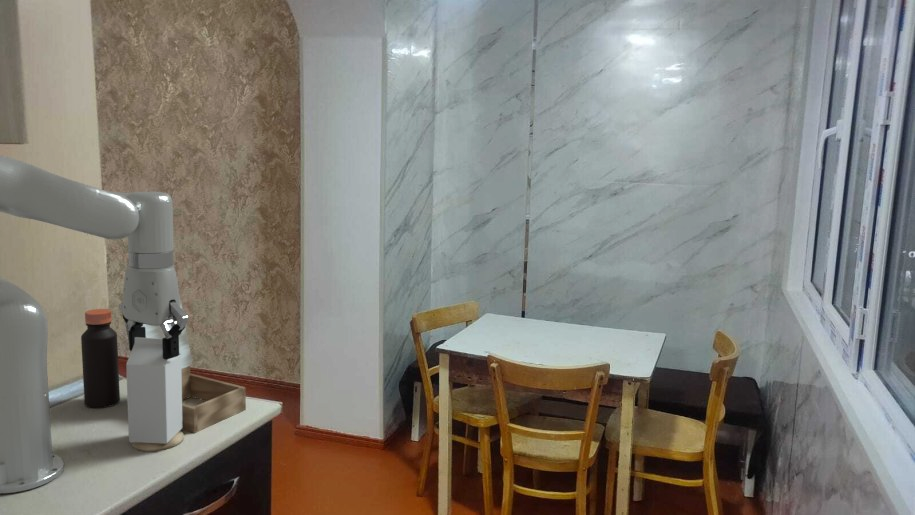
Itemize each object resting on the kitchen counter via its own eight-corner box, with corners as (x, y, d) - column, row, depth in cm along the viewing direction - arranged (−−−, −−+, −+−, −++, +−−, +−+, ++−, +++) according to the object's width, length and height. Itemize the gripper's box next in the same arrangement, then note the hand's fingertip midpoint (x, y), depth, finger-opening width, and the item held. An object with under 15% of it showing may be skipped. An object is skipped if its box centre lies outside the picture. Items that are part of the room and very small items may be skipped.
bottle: (110, 409, 146) (106, 316, 143) (78, 408, 146) (72, 315, 143) (125, 397, 153) (122, 308, 149) (94, 396, 153) (90, 307, 149)
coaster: (155, 455, 126) (155, 452, 126) (121, 444, 130) (120, 441, 130) (193, 437, 134) (193, 434, 134) (160, 427, 138) (160, 424, 138)
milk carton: (167, 444, 128) (164, 344, 125) (128, 442, 129) (125, 342, 125) (182, 429, 135) (180, 334, 132) (146, 427, 136) (143, 332, 132)
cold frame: (194, 433, 136) (191, 325, 133) (127, 412, 145) (122, 310, 141) (245, 409, 149) (244, 310, 145) (181, 392, 157) (178, 297, 153)
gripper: (100, 257, 127) (104, 350, 130) (168, 269, 119) (171, 367, 122) (135, 252, 134) (138, 340, 136) (202, 263, 126) (204, 356, 129)
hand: (154, 353), depth 129 cm, fingers closed on milk carton, 8 cm apart
